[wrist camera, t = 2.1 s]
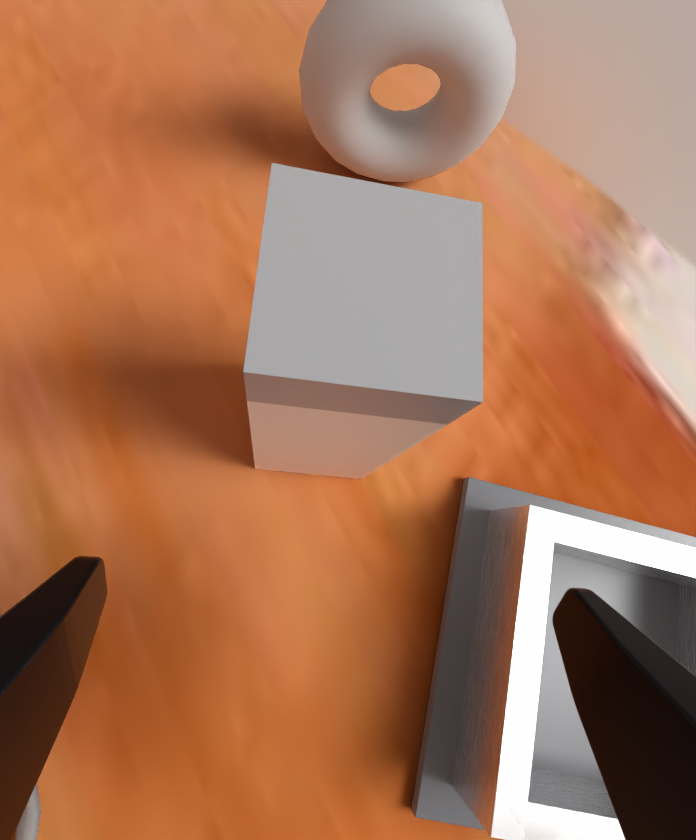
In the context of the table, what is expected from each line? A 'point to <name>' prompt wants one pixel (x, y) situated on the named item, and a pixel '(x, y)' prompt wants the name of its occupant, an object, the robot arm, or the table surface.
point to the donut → (395, 45)
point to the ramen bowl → (29, 819)
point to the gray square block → (360, 322)
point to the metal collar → (521, 669)
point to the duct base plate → (556, 712)
